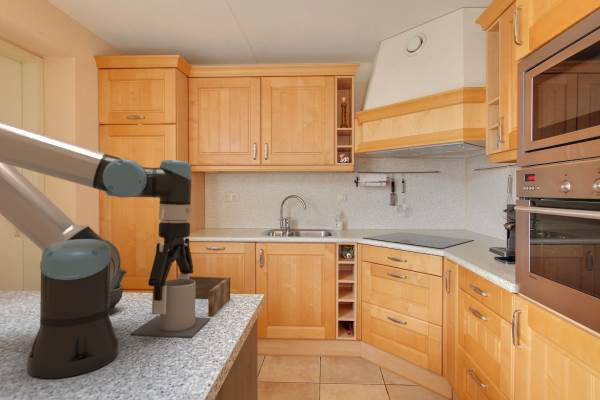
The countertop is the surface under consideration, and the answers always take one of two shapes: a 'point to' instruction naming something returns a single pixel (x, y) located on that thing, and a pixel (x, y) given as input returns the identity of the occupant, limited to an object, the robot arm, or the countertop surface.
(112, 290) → the mortar and pestle
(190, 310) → the mug
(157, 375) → the countertop surface
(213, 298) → the open-sided wooden frame
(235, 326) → the countertop surface
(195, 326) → the mat
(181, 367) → the countertop surface
